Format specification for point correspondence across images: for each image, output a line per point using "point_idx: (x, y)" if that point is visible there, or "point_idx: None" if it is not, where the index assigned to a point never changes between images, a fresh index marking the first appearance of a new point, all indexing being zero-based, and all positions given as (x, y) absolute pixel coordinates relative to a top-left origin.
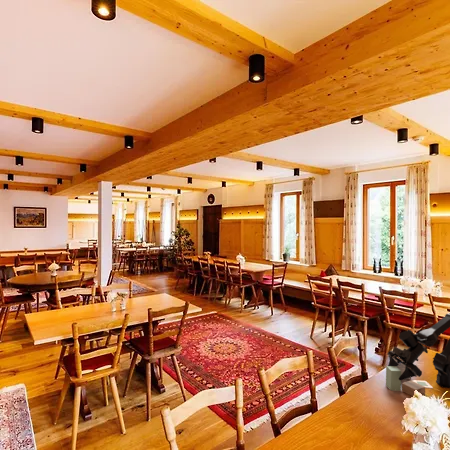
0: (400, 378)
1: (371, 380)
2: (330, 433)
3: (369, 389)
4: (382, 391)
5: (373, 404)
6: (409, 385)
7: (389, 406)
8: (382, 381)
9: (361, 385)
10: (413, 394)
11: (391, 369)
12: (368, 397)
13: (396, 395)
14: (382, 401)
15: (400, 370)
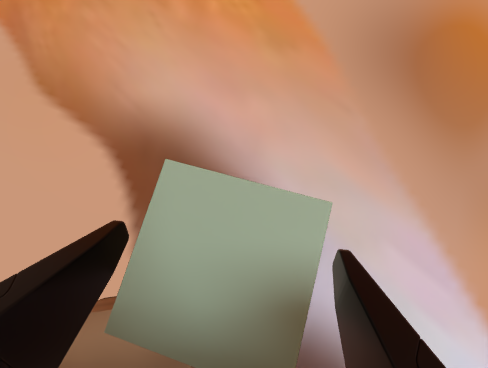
0: (100, 234)
1: (380, 166)
2: None
3: (269, 73)
4: (228, 136)
5: (135, 3)
6: None
7: (92, 67)
8: (352, 241)
9: (325, 55)
10: (103, 301)
11: (198, 195)
12: (195, 17)
13: None
14: (140, 63)
15: (121, 333)
